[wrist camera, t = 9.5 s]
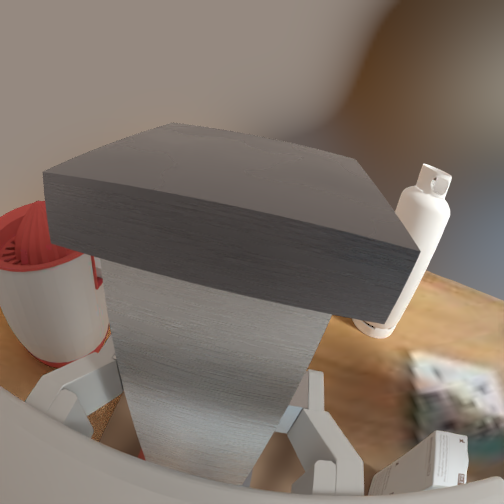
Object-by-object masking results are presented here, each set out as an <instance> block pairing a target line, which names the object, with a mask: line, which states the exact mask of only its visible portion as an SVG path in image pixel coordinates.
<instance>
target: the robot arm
mask: <svg viewBox="0 0 504 504" xmlns="http://www.w3.org/2000/svg"><path fill="white" fill-rule="evenodd" d="M123 391H124V388H123V384H122V380H121V376H120V372H119V368H118V363H117V359H116V354H115V350H114V345H113V340H112V335H110V336H109V338H108V339H107V341H106V342H105V344H104V345H103V347H102V348H101V350H100V351H99V353H97V352H94V353H91V354H89V355H87V356H85V357H83V358H80V359H78V360H76V361H74V362H72V363H69V364H67V365H65V366H63V367H61V368H58V369H56V370H54V371H52V372H49V373H47V374H45V375H43V376H42V377H41V378H40V380H39V381H38V383H37V384H36V386H35V387H34V388H33V390H32V391H31V393H30V394H29V396H28V397H27V399H26V400H25V402H24V401H22V400H21V399H19V398H17V397H16V396H14V395H13V394H11V393H10V392H9V391H7V390H6V389H4V388H3V387H1V386H0V504H504V480H503V479H502V478H501V477H498V476H495V477H489V478H486V479H482V480H478V481H474V482H470V483H465V484H461V485H456V486H451V487H445V488H440V489H433V490H427V491H419V492H411V493H401V494H389V495H371V496H364V467H363V461H362V459H361V458H360V456H359V455H358V454H357V452H356V451H355V449H354V448H353V447H352V445H351V444H350V442H349V441H348V439H347V438H346V437H345V435H344V434H343V432H342V431H341V429H340V428H339V427H338V425H337V424H336V422H335V421H334V419H333V418H332V417H331V415H330V414H329V412H326V411H324V374H323V372H321V371H315V370H309V369H307V370H306V372H305V374H304V376H303V378H302V380H301V382H300V384H299V386H298V388H297V390H296V392H295V394H294V396H293V398H292V399H291V401H290V403H289V405H288V407H287V409H286V411H285V413H284V414H283V416H282V418H281V420H280V422H279V424H278V425H277V427H276V429H275V432H281V433H286V434H287V436H288V438H289V440H290V442H291V444H292V446H293V448H294V450H295V452H296V454H297V456H298V458H299V460H300V462H301V464H302V466H303V468H304V470H305V473H304V474H303V475H302V476H301V477H300V478H299V479H298V480H296V481H295V482H294V483H293V484H292V488H291V493H285V492H276V491H269V490H262V489H255V488H249V487H243V486H238V485H233V484H228V483H223V482H218V481H214V480H209V479H205V478H201V477H197V476H193V475H190V474H186V473H183V472H179V471H176V470H172V469H169V468H166V467H163V466H160V465H157V464H154V463H151V462H148V461H145V460H142V459H139V458H137V457H134V456H131V455H129V454H126V453H124V452H121V451H119V450H116V449H114V448H111V447H109V446H107V445H104V444H102V443H100V442H98V441H95V440H93V439H91V437H92V434H93V432H94V429H93V427H92V425H91V423H90V421H89V419H88V418H87V416H88V415H90V414H91V413H93V412H94V411H96V410H97V409H99V408H101V407H102V406H104V405H105V404H107V403H108V402H110V401H111V400H113V399H114V398H116V397H117V396H119V395H120V394H122V393H123Z"/></svg>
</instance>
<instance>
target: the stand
mask: <svg viewBox="0 0 504 504" xmlns="http://www.w3.org/2000/svg"><path fill="white" fill-rule="evenodd" d="M99 442H100V443H102V444H104V445H107V446H109V447H111V448H114V449H116V450H119V451H121V452H124V453H126V454H129V455H131V456H134V457H137V458H139V459H142V460H145V461H146V459H145V456H144V454H143V451H142V448H141V445H140V442H139V439H138V436H137V433H136V430H135V427H134V423H133V420H132V417H131V413H130V410H129V407H128V403H127V399H126V396H125V392H123V394H122V396H121V398H120V400H119V402H118V404H117V406H116V408H115V410H114V412H113V414H112V416H111V418H110V420H109V422H108V424H107V426H106V428H105V430H104V432H103V434H102V436H101V439H100V441H99ZM304 473H305V470H304V468H303V466H302V464H301V462H300V460H299V458H298V456H297V454H296V452H295V450H294V448H293V446H292V444H291V442H290V440H289V438H288V436H287V434H286V433H281V432H275V431H274V433H273V434H272V436H271V438H270V440H269V441H268V443H267V445H266V447H265V448H264V450H263V452H262V453H261V455H260V457H259V458H258V460H257V462H256V463H255V465H254V467H253V468H252V470H251V472H250V473H249V475H248V476H247V478H246V480H245V481H244V483H243V484H242V486H243V487H249V488H255V489H262V490H269V491H276V492H285V493H291V488H292V484H293V483H294V482H295V481H296V480H298V479H299V478H300V477H301V476H302V475H303V474H304Z"/></svg>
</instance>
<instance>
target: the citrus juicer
mask: <svg viewBox="0 0 504 504" xmlns="http://www.w3.org/2000/svg"><path fill="white" fill-rule="evenodd" d="M0 306H1V309H2V312H3V314H4V316H5V318H6V320H7V322H8V324H9V326H10V328H11V329H12V331H13V332H14V334H15V335H16V337H17V338H18V339H19V341H20V342H21V343H22V344H23V345H24V346H25V348H26V349H27V350H28V352H30V353H31V354H32V355H33V356H34V357H35V358H37V359H38V360H39V361H41V362H42V363H44V364H46V365H48V366H51V367H55V368H61V367H63V366H65V365H67V364H69V363H72V362H74V361H76V360H78V359H80V358H83V357H85V356H87V355H89V354H91V353H94V352H97V353H98V352H99V351H100V349H101V348H102V346H103V344H104V341H105V338H106V336H107V333H108V328H109V318H108V313H107V306H106V300H105V293H104V286H103V278H102V270H101V261H100V258H98V257H94V256H91V255H87V254H84V253H81V252H77V251H74V250H71V249H67V248H64V247H61V246H57V245H54V244H51V241H50V235H49V228H48V221H47V213H46V205H45V201H36V202H34V203H32V204H28V205H24V206H22V207H20V208H17V209H14V210H12V211H10V212H8V213H6V214H5V215H3V216H1V217H0Z"/></svg>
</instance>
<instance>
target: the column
mask: <svg viewBox="0 0 504 504" xmlns="http://www.w3.org/2000/svg"><path fill="white" fill-rule="evenodd" d="M43 182H44V195H45V205H46V213H47V221H48V228H49V235H50V241H51V244H54V245H57V246H61V247H64V248H67V249H71V250H74V251H77V252H81V253H84V254H87V255H91V256H94V257H98V258H100V261H101V270H102V278H103V286H104V293H105V300H106V306H107V313H108V318H109V324H110V330H111V335H112V340H113V345H114V350H115V354H116V359H117V363H118V368H119V372H120V376H121V380H122V384H123V388H124V392H125V396H126V399H127V403H128V407H129V410H130V413H131V417H132V420H133V423H134V427H135V430H136V433H137V436H138V439H139V442H140V445H141V448H142V451H143V454H144V456H145V459H146V461H148V462H151V463H154V464H157V465H160V466H163V467H166V468H169V469H172V470H176V471H179V472H183V473H186V474H190V475H193V476H197V477H201V478H205V479H209V480H214V481H218V482H223V483H228V484H233V485H238V486H242V484H243V483H244V481H245V480H246V478H247V476H248V475H249V473H250V472H251V470H252V468H253V467H254V465H255V463H256V462H257V460H258V458H259V457H260V455H261V453H262V452H263V450H264V448H265V447H266V445H267V443H268V441H269V440H270V438H271V436H272V434H273V433H274V431H275V429H276V427H277V425H278V424H279V422H280V420H281V418H282V416H283V414H284V413H285V411H286V409H287V407H288V405H289V403H290V401H291V399H292V398H293V396H294V394H295V392H296V390H297V388H298V386H299V384H300V382H301V380H302V378H303V376H304V374H305V372H306V370H307V368H308V366H309V364H310V362H311V360H312V357H313V355H314V353H315V351H316V349H317V347H318V345H319V343H320V340H321V338H322V336H323V334H324V332H325V329H326V327H327V325H328V323H329V320H330V318H331V316H332V315H337V316H342V317H347V318H353V319H358V320H363V321H369V322H374V323H379V324H385V322H386V320H387V319H388V317H389V315H390V313H391V311H392V309H393V307H394V306H395V304H396V302H397V300H398V298H399V296H400V294H401V292H402V290H403V288H404V286H405V284H406V282H407V280H408V278H409V276H410V274H411V272H412V270H413V268H414V265H415V263H416V261H417V259H418V257H419V254H420V252H421V251H420V250H419V248H418V246H417V245H416V243H415V242H414V240H413V239H412V237H411V235H410V234H409V232H408V231H407V229H406V228H405V226H404V225H403V223H402V222H401V220H400V219H399V218H398V216H397V215H396V213H395V212H394V210H393V209H392V208H391V206H390V205H389V203H388V202H387V200H386V199H385V198H384V196H383V195H382V194H381V192H380V191H379V190H378V188H377V187H376V185H375V184H374V183H373V181H372V180H371V179H370V177H369V176H368V175H367V174H366V172H365V171H364V170H363V168H362V167H361V166H360V165H359V163H358V162H357V161H356V160H355V159H352V158H349V157H345V156H341V155H338V154H334V153H330V152H326V151H322V150H318V149H314V148H310V147H306V146H302V145H297V144H293V143H289V142H284V141H280V140H275V139H270V138H265V137H260V136H255V135H250V134H244V133H239V132H233V131H227V130H220V129H215V128H208V127H201V126H194V125H186V124H178V123H170V124H167V125H163V126H160V127H157V128H154V129H151V130H148V131H144V132H141V133H138V134H135V135H133V136H129V137H127V138H124V139H121V140H119V141H116V142H113V143H110V144H108V145H105V146H102V147H99V148H97V149H95V150H92V151H89V152H87V153H85V154H82V155H80V156H77V157H75V158H72V159H70V160H68V161H66V162H63V163H61V164H59V165H57V166H54V167H52V168H50V169H48V170H46V171H44V172H43Z"/></svg>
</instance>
